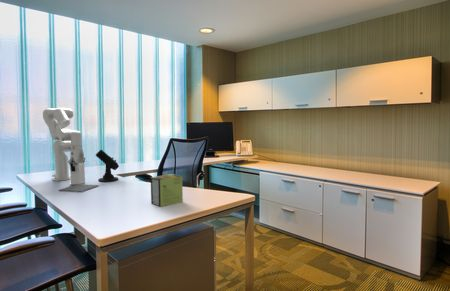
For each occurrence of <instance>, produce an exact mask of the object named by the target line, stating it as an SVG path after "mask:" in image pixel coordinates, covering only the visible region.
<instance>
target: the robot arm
mask: <svg viewBox="0 0 450 291" xmlns="http://www.w3.org/2000/svg"><path fill="white" fill-rule="evenodd" d="M73 117H74V110H72V109H71V108H69V107H67V108H66V107H58V108H57V107H56V108H46V109H44V110H43V111H42V119H43V120H44V123H45V125H47V127H48V131H49V135H50V136H51V138H52V140H53V141H54V142H53V143H52V150H53V155H54V169H55V170H54V171H55V172H54V173H52V177H53V181H54V182H56V181H57V182H58V181H59V182H60V181H61V182H62V181H69V180H71V176H70V172H69V171H70V166H71V171H75V166H74V165H75V163H81V162H83V163H84V164H85V162H86V157H85V154H84V153H85V152H84V150H83V141H82V132H81V131H79V130H71V129H70V128H67V127H69V126H70V124H71V120H70V119H72V118H73ZM69 152H70V154H69V156H70V157H69V156H68V155H67V154H66V153H69Z"/></svg>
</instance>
